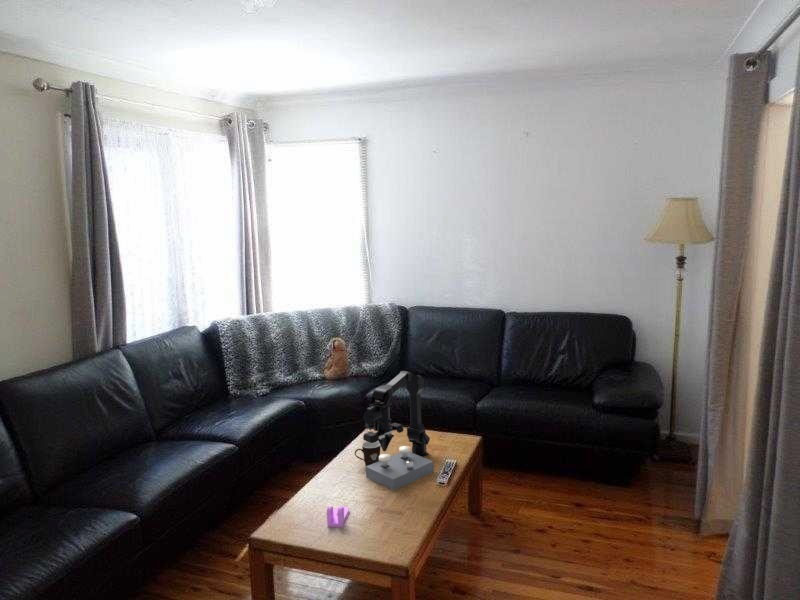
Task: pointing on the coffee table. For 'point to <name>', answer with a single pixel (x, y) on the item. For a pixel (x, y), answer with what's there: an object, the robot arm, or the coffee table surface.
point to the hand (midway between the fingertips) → (384, 451)
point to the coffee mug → (370, 452)
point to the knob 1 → (384, 459)
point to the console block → (399, 471)
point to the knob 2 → (404, 451)
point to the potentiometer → (409, 465)
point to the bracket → (337, 516)
